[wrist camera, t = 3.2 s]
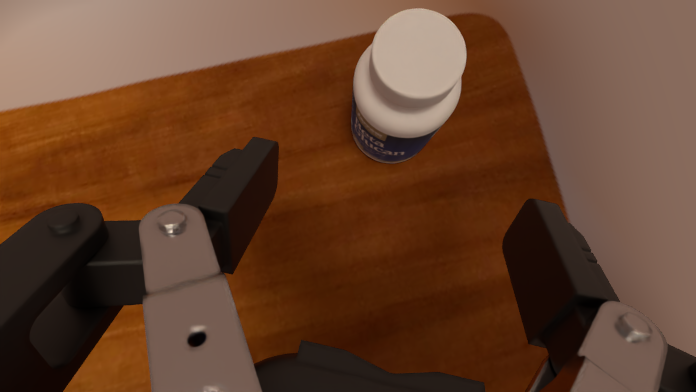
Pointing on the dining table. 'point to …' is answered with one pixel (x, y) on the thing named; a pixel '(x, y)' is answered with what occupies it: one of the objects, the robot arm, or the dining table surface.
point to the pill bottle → (406, 84)
